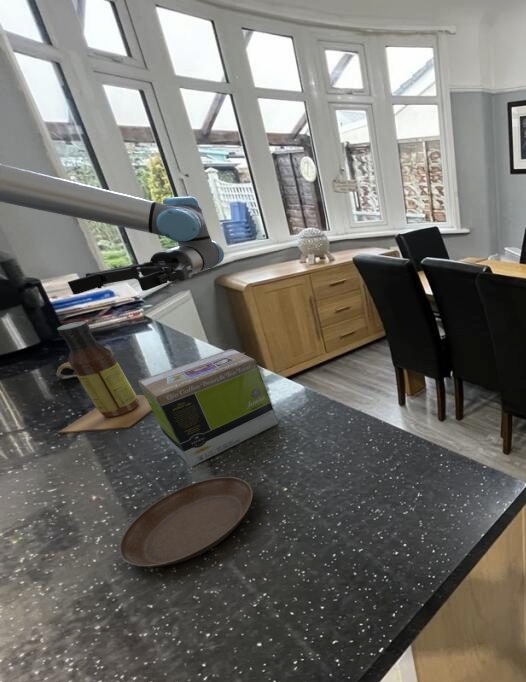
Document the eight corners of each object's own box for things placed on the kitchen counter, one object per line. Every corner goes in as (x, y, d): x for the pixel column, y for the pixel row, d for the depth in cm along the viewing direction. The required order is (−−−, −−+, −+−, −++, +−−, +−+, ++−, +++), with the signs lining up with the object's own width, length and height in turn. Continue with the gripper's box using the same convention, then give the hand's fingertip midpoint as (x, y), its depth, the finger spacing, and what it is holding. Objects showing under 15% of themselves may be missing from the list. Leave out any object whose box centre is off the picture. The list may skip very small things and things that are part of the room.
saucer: (239, 560, 51) (232, 545, 50) (99, 594, 47) (89, 579, 46) (269, 480, 64) (264, 467, 63) (161, 502, 60) (154, 489, 59)
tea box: (256, 409, 83) (233, 346, 77) (279, 425, 78) (257, 358, 72) (169, 448, 72) (135, 378, 66) (189, 470, 66) (154, 395, 60)
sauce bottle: (139, 399, 88) (98, 315, 79) (141, 410, 83) (98, 323, 75) (99, 411, 83) (51, 324, 75) (99, 423, 79) (49, 333, 71)
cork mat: (59, 433, 77) (58, 432, 77) (113, 398, 89) (113, 396, 89) (129, 428, 78) (128, 426, 78) (174, 394, 90) (173, 392, 90)
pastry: (87, 363, 106) (81, 350, 105) (115, 361, 107) (108, 349, 105) (55, 380, 98) (47, 367, 96) (85, 378, 99) (78, 364, 97)
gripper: (231, 275, 104) (176, 299, 85) (131, 280, 102) (52, 306, 83) (222, 246, 101) (163, 265, 82) (118, 251, 99) (33, 271, 80)
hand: (106, 286), depth 82 cm, fingers open, 13 cm apart
